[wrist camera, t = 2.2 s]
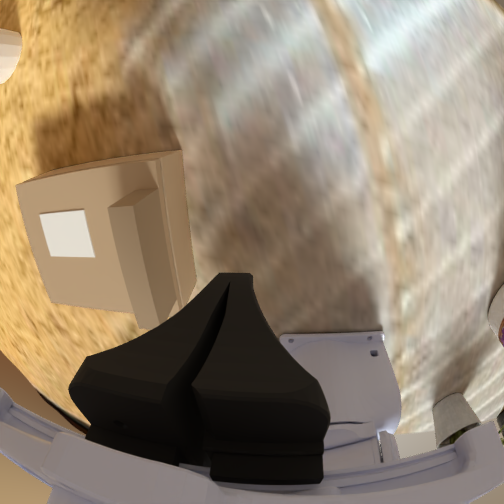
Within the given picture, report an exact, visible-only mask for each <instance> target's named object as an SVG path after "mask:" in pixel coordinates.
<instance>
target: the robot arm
mask: <svg viewBox="0 0 504 504" xmlns="http://www.w3.org/2000/svg"><path fill="white" fill-rule="evenodd" d="M369 336H371V337H369ZM368 337H369V338H368ZM384 338H385V334H384V332H382V331H373V332H355V333H328V334H283V335H281V336H280V338H279V340H278V338H277V337H276V336H275V334H274V333H273V331H272V330H271V328H270V326H269V325H268V323H267V321H266V319H265V317H264V315H263V313H262V311H261V309H260V306H259V304H258V301H257V299H256V296H255V293H254V289H253V276H252V275H251V274H250V273H219V274H218V275H217V276H216V277H214V279H213V280H212V281H211V282H210V283H209V284H208V285H207V286H206V287H205V288H204V289H203V290H202V291H201V292H200V293H199V294H198V295H197V296H196V297H195V298H194V299H193V300H191V301H190V302H189V303H188V304H187V305H186V306H184V307H183V308H182V309H181V310H180V311H179V312H177V313H176V314H175V315H173V316H172V317H171V318H169V319H168V320H166V321H165V322H163V323H162V324H160V325H159V326H157V327H155V328H154V329H152V330H150V331H148V332H147V333H145V334H143V335H141V336H139V337H138V338H135V339H133V340H131V341H129V342H127V343H125V344H122V345H120V346H117V347H115V348H112V349H109V350H106V351H103V352H100V353H97V354H94V355H91V356H87V357H86V359H85V360H84V362H83V363H82V365H81V367H80V368H79V370H78V371H77V373H76V375H75V376H74V378H73V380H72V381H71V383H70V385H69V389H68V390H69V394H70V397H71V399H72V400H73V402H74V403H75V405H76V406H77V407H78V409H79V410H80V411H81V412H82V414H83V415H84V416H85V417H86V418H87V420H88V421H89V422H90V423H91V426H90V428H89V430H88V432H87V434H86V436H83V435H81V434H78V433H76V432H73V431H71V430H69V429H66V428H64V427H62V426H59V425H57V424H55V423H53V422H51V421H49V420H47V419H44V418H43V417H41V416H38V415H36V414H35V413H32V412H31V411H29V410H27V409H25V408H23V407H22V406H20V405H18V404H16V403H15V402H13V400H12V399H11V397H10V396H9V395H8V394H7V393H6V392H5V391H4V390H3V389H2V388H1V387H0V453H2V454H3V455H4V456H6V457H7V458H8V459H10V460H11V461H12V462H14V463H15V464H17V465H18V466H19V467H21V468H22V469H24V470H25V471H27V472H28V473H29V474H31V475H32V476H34V477H36V478H37V479H39V480H40V481H42V482H43V483H45V484H47V485H48V486H50V487H52V488H53V489H52V491H51V494H50V497H49V499H48V502H47V504H468V503H470V502H472V501H474V500H475V499H477V498H479V497H481V496H483V495H485V494H486V493H488V492H490V491H491V490H493V489H494V488H496V487H498V486H499V485H501V484H502V483H504V448H503V444H502V442H501V439H500V436H499V434H498V431H497V429H496V426H495V424H494V421H490V422H487V423H485V424H483V425H480V426H478V427H475V428H473V429H470V430H468V431H467V432H465V433H464V434H462V435H461V436H460V437H459V438H458V439H457V440H456V441H455V443H454V444H451V445H448V446H445V447H442V448H439V449H436V450H432V451H429V452H426V453H422V454H418V455H414V456H411V457H407V458H402V459H400V456H399V451H398V447H397V443H396V440H395V437H394V435H393V434H394V433H395V431H396V429H397V427H398V425H399V421H400V417H401V395H400V390H399V386H398V383H397V380H396V377H395V374H394V371H393V368H392V366H391V363H390V360H389V357H388V354H387V351H386V349H385V346H384V343H383V341H384ZM289 339H293V340H289ZM379 440H380V442H381V444H380V446H379ZM380 447H381V451H380ZM381 453H382V456H381Z"/></svg>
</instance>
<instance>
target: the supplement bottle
mask: <svg viewBox="0 0 504 504" xmlns="http://www.w3.org/2000/svg"><path fill="white" fill-rule="evenodd" d="M497 422H498V425H499V427H500V430H501V428H502V427H503V426H504V410H503V411H502V412H501V413H500V414H499V416H498V417H497ZM501 433H502V435H503V438H504V428H503V430H502V431H501Z"/></svg>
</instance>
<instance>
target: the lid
mask: <svg viewBox="0 0 504 504" xmlns="http://www.w3.org/2000/svg"><path fill="white" fill-rule="evenodd" d="M16 190H17V195H18V200H19V204H20V209H21V213H22V217H23V221H24V225H25V229H26V232H27V236H28V239H29V242H30V246H31V249H32V252H33V255H34V258H35V261H36V264H37V267H38V270H39V272H40V275H41V278H42V281H43V283H44V286H45V288H46V291H47V293H48V296H49V298H50V300H51V303H57V304H63V305H70V306H76V307H83V308H91V309H98V310H106V311H114V312H123V313H132V314H135V317H136V320H137V323H138V326H139V328H140V329H149V330H152V329H154V328H155V327H157V326H159V325H160V324H162V323H163V322H165V321H166V320H167V319H168V317H172V316H173V315H175V314H176V313H177V312H179V311H180V310H181V309H182V303H181V299H180V293H179V288H178V283H177V278H176V272H175V267H174V261H173V255H172V249H171V243H170V237H169V230H168V223H167V216H166V209H165V202H164V194H163V185H162V176H161V167H160V159H150V160H142V161H134V162H126V163H119V164H112V165H106V166H100V167H94V168H88V169H82V170H77V171H72V172H67V173H62V174H57V175H52V176H48V177H43V178H39V179H35V180H31V181H27V182H23V183H20V184H17V185H16Z"/></svg>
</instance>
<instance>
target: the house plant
mask: <svg viewBox="0 0 504 504" xmlns="http://www.w3.org/2000/svg"><path fill="white" fill-rule="evenodd" d="M433 418H434V426H435V435H436V446H437V449H439V448H442V447H445V446H448V445H451V444H454V443H455V441H456V440H457V439H458V438H459V437H460V436H461V435H462V434H464V433H465V432H467V431H468V430H470V429H473V428H475V427H478V426H480V425H481V422H480V420H479V419H478V417H477V416H476V414H475V413H474V411H473V410H472V408H471V407H470V405H469V404H468V402H467V401H466V399H465V398H464V397H463V395H462V394H461V393H455V394H452V395H450V396H447V397H446V398H444V399H443V400H441V401H440V402H439V403H437V404H436V405H435V406H434V408H433ZM503 428H504V426H503V427H502V428H501V430H500V431H499V432H498V434H499V433H500V432H501V431H502V430H503ZM500 439H502V438H500ZM501 442H502V444H503V445H504V439H502V440H501Z"/></svg>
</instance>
